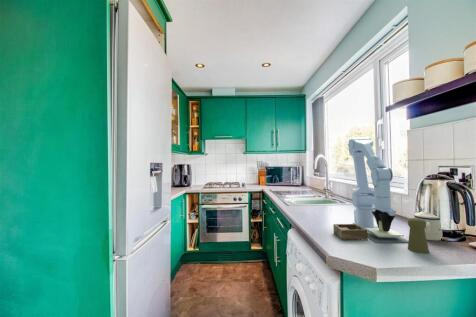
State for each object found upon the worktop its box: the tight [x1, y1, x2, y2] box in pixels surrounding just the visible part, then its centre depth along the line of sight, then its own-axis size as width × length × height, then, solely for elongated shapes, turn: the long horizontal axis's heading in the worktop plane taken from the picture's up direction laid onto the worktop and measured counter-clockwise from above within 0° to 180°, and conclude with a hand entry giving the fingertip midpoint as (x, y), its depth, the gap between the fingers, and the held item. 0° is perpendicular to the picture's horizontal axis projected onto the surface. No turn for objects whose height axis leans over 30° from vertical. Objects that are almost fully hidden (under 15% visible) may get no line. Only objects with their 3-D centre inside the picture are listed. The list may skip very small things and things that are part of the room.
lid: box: [364, 221, 405, 238], centre depth 97 cm, size 10×10×5 cm
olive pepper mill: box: [407, 217, 430, 254], centre depth 83 cm, size 6×6×11 cm
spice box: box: [332, 223, 369, 241], centre depth 100 cm, size 10×10×4 cm
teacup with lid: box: [413, 210, 443, 242], centre depth 95 cm, size 12×9×12 cm
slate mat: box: [367, 232, 409, 244], centre depth 97 cm, size 13×13×1 cm
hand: (383, 229), depth 97 cm, fingers closed on lid, 3 cm apart
